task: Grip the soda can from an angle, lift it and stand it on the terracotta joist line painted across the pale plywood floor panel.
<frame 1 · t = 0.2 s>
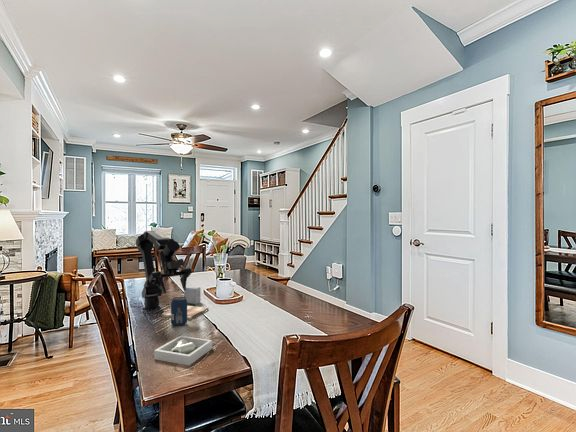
hand: (175, 291, 145), 14 cm above the table, tool tilted 35°, fingers open, 9 cm apart
subfloor panel: (185, 313, 159), on the table
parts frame: (184, 353, 113), on the table
pipe fitting: (183, 354, 113), resting in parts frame
soda can: (179, 325, 142), on the table
medicine box: (192, 303, 177), on the table
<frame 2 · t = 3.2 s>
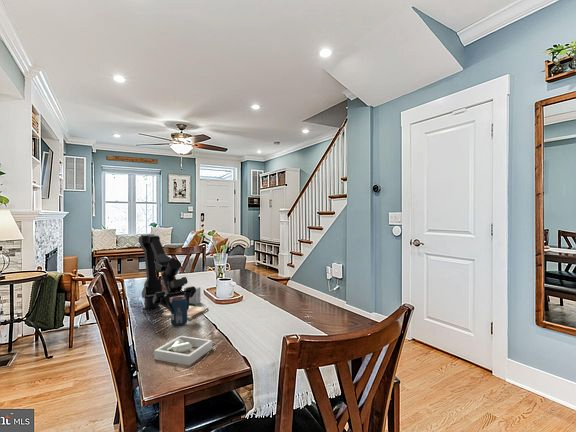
hand: (180, 310, 141), 7 cm above the table, tool tilted 45°, fingers closed on soda can, 7 cm apart
pipe fitting: (180, 354, 113), resting in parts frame
soda can: (179, 325, 142), on the table, touching gripper
everything else where it was.
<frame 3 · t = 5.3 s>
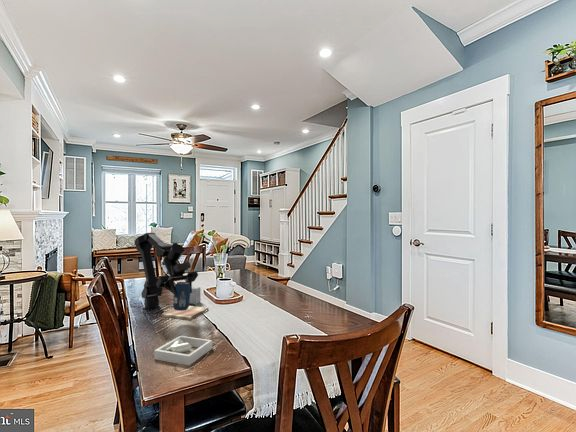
hand: (184, 294, 145), 13 cm above the table, tool tilted 45°, fingers closed on soda can, 7 cm apart
soda can: (180, 309, 145), point 6 cm above the table, touching gripper
when the fingers open (9 cm above the table, at t = 7.4 s): soda can stays where it is, resting on subfloor panel.
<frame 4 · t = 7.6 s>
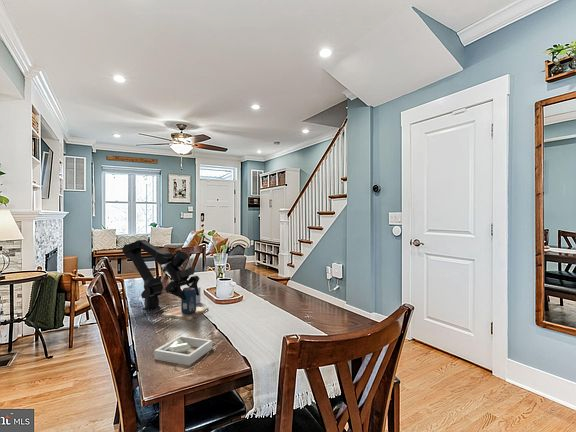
hand: (192, 297, 155), 9 cm above the table, tool tilted 45°, fingers open, 9 cm apart
soda can: (188, 313, 155), point 1 cm above the table, touching subfloor panel
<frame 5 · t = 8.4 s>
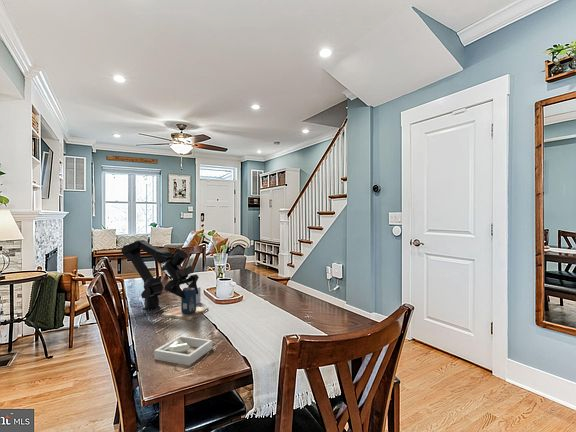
hand: (191, 295, 155), 10 cm above the table, tool tilted 45°, fingers open, 9 cm apart
soda can: (188, 313, 155), point 1 cm above the table, touching gripper, subfloor panel
everything else where it was.
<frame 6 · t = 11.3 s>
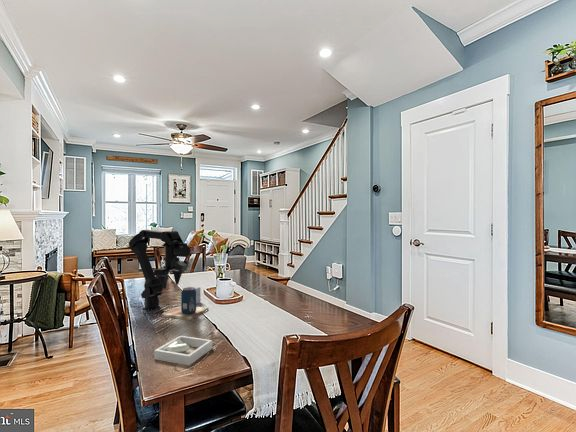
hand: (171, 286, 160), 13 cm above the table, tool pointing down, fingers open, 9 cm apart
soda can: (188, 313, 155), point 1 cm above the table, touching subfloor panel
at the end: soda can inside the target area (1.0 cm from its centre), point 1.1 cm above the table; soda can tilted 0°; the gripper is holding nothing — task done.
